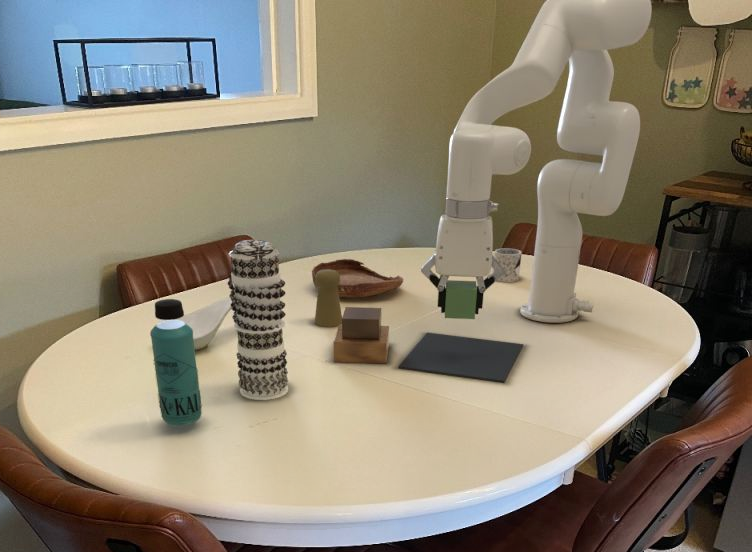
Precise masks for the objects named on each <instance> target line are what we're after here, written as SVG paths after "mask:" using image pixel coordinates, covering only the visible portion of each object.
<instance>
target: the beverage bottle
mask: <svg viewBox="0 0 752 552" xmlns="http://www.w3.org/2000/svg"><path fill="white" fill-rule="evenodd" d="M183 307H184V306H183V303H182V301H181V300H179V299H174V298H164V299H160V300H158V301H156V302H155V303H154V317H155V318H156V319H158V320H162V321H159V322H157V323H156V324H155V325H154V326H153V328H152V329H151V330H150V332H149V334H150V339H151V346H152V354H153V360H152V362H153V366H154V371H155V380H156V382H155V383H156V384H155V385H156V386H157V394H158V395H157V398H158V399H157V400H158V405H159V406H158V407H159V410H160V411H159V412H160V417H161V418H162V420H163V422H164V423H166V424H168V425H174V426H182V425H183V426H184V425H189V424H193V423H195V422H197V421H199V420H200V418H201V417H202V410H203V405H202V397H201V389H200V382H199V378H200V377H199V369H198V367H197V359H196V350H195V349H194V340H193V330H192V328H191V327H190V326H188V325H187V324H186V323H184V322H182V321H178V320H174V319H178V318H181V317H183V316H185V311H184V308H183Z"/></svg>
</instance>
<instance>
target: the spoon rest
mask: <svg viewBox="0 0 752 552" xmlns="http://www.w3.org/2000/svg"><path fill="white" fill-rule="evenodd" d="M231 303H232V301H231V298H230V297H225V298H222V299H219V300H217V301H215V302H213V303H211V304H209V305H206V306H205V307H202V308H200V309H198V310H195V311H193V312H189V313H188V314H184V316H183V317H181V318H178V319H174V320H178V321H182V322H184V323H186V324H187V325H188V326H190V327H191V328H192V330H193V340H194V349H195V351H197V350H201V349H204V348H205V347H207V345H208V344H209V343H210V342H211V341H212V340H213V339H214V338H215V336H216V334H217V332H218V331H219V328H220V327H221V326H222V324H223V322H224V320H225V318H226V317H227V315H228V314H229V313H230V311H232V307H231ZM235 305H236V304H235Z"/></svg>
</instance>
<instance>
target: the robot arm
mask: <svg viewBox="0 0 752 552" xmlns="http://www.w3.org/2000/svg"><path fill="white" fill-rule="evenodd" d="M652 8H653V7H652V1H651V0H545V2H544V3H543V4H542V6H541V8H540V9H539V11H538V12H537V15H536V17H535V18H534V21H533V23H532V24H531V27H530V29H529V31H528V33H527V34H526V37H525V38H524V41H523V43H522V45H521V47H520V48H519V51H518V52H517V54H516V57H515V58H514V60H513V62H512V64H511V65H510V66H509V67H508V68H506V69H505V70H503V71H502V72H500V73H499V74H497V75H496V76H495V77H494V78H492V79H491V80H489V82H487V83H486V84H485V85H484V86H483V87H481V88H480V89H479V90H478V91H477V92H476V93H475V94H474V95H473V96H472V97H471V98H470V100H469V101H468V102H467V104H466V106H465V108H464V109H463V111H462V113H461V115H460V117H459V119H458V121H457V123H456V124H455V125H456V126H455V128H454V130H453V133H452V134H451V136H450V139H449V146H448V147H449V148H448V164H447V165H448V166H447V179H446V180H447V181H446V183H447V184H446V198H445V211H444V212H445V213H444V214H441V216H440V218H439V222H438V227H437V234H436V243H435V252H434V253H433V254H432V256H430V258H429V259H428V260H427V261H426V262H425V263H424V264H423V265H422V266H421V268H420V273H422V274H423V275H424V276H425V278H427V279H428V280H429V282H430V283H431V284H432V285H433V286H434V287H435V288H436V289H437V291H438V293H437V308H440V313H441V314H445V313H444V312H445V302H446V282H447V280H449V278H450V277H462V278H463V277H465V278H466V277H469V278H475V279H476V280H475V281H476V286H477V297H476V309H475V315H479V310H480V309H483V307H484V305H483V304H484V293H485V292H486V290H488V289H489V288H490V287H491V286H492V285H494V283H495V282H497V281H496V280H498V279H499V278H500V277H502V276H503V275H504V270H503V268H502V267H501V266H500V264H499V263H498V262H497V260H496V259H495V258H494V255H493V249H494V247H493V246H494V232H493V231H494V224H493V217H492V216H491V215H490V214H491V213H493V212H498V207H499V203H498V202H494V201H492V200H491V190H492V179H493V175H500V176H501V175H503V176H512V175H515V174H517V173H519V172H520V171H522V170H523V169H524V168H525V167H526V165H527V164H528V162H529V161H530V157H531V154H532V144H531V140H530V138H529V136H528V134H527V133H526V132H525V131H524V130H522V129H520V128H518V127H513V126H504V125H497V124H493V123H494V122H495V121H496V120H498V119H499V118H501V117H502V116H503V115H505V114H507V113H509V112H512V111H513V110H517V109H519V108H522V107H525V106H529V105H530V104H533V103H536V102H539V101H540V100H543V99H544V98H547V97H548V96H549V95H550V94H552V92H553V91H554V90H555V88H556V87H557V84H558V82H559V80H560V78H561V76H562V74H563V72H564V70H565V68H566V66H567V64H568V67H569V69H568V70H569V72H568V79H567V84H566V88H565V93H564V98H563V102H562V105H561V111H560V115H559V121H558V125H557V129H556V130H557V131H556V142H557V145H558V146H559V148H561V149H562V150H564V151H567V152H571V153H577V154H585V155H594V156H602V161H601V163H600V162H592V161H587V160H579V159H569V158H560V159H559V158H558V159H554V160H551V161H550V162H548V163H546V164H545V165H544V166H543V167H542V169H541V170H540V173H538V174H539V175H538V179H537V185H536V192H537V193H536V195H537V208H538V209H537V224H536V225H537V226H536V236H535V243H534V251H533V252H534V253H533V261H532V268H531V277H530V284H529V285H530V286H529V294H528V302H526V303H523V304H521V306H520V310H519V312H520V314H521V315H522V316H523V317H524V318H526V319H529V320H530V321H531V320H532V321H536V322H539V323H540V322H541V323H549V324H550V323H551V324H561V323H568V322H573V321H574V320H576V319H577V318H578V317H579V311H580V312H585V313H593V308H594V302H590V301H589V300H584V299H583V300H582V299H579V298H576V297H577V292H575V289H576V282H577V275H578V269H579V268H578V267H579V263H580V255H581V248H582V244H583V243H582V242H583V226H582V223H581V221H580V218H579V217H580V216H579V215H578V214H584V215H591V216H597V217H607V216H611V215H613V214H614V213H615V212H616V211H617V210H618V209H619V207H620V205H621V204H622V201H623V198H624V196H625V191H626V189H627V185H628V181H629V177H630V173H631V169H632V165H633V161H634V159H635V154H636V149H637V147H638V141H639V137H640V132H641V116H640V113H639V110H638V108H636V106H635V105H634V104H632V103H630V102H626V101H625V102H624V101H612V100H610V95H611V92H612V87H613V81H614V77H615V68H614V64H613V60H612V58H611V55H610V54H609V52H608V51H610V50H615V49H619V48H620V49H621V48H625V47H629V46H632V45H634V44H636V43H637V42H639V41H640V40H641V39H642V38H643V36H644V35H645V34H646V33H647V31H648V28H649V26H650V23H651V19H652V11H653V9H652ZM433 267H435V268H434V269H435V273H434V272H433V271H432V268H433ZM493 269H494V270H495V271H494V273H493V272H492V273H491V270H493ZM437 274H438V275H440V276H439V277H438V275H437ZM484 277H486V278H485V279H484Z"/></svg>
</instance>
